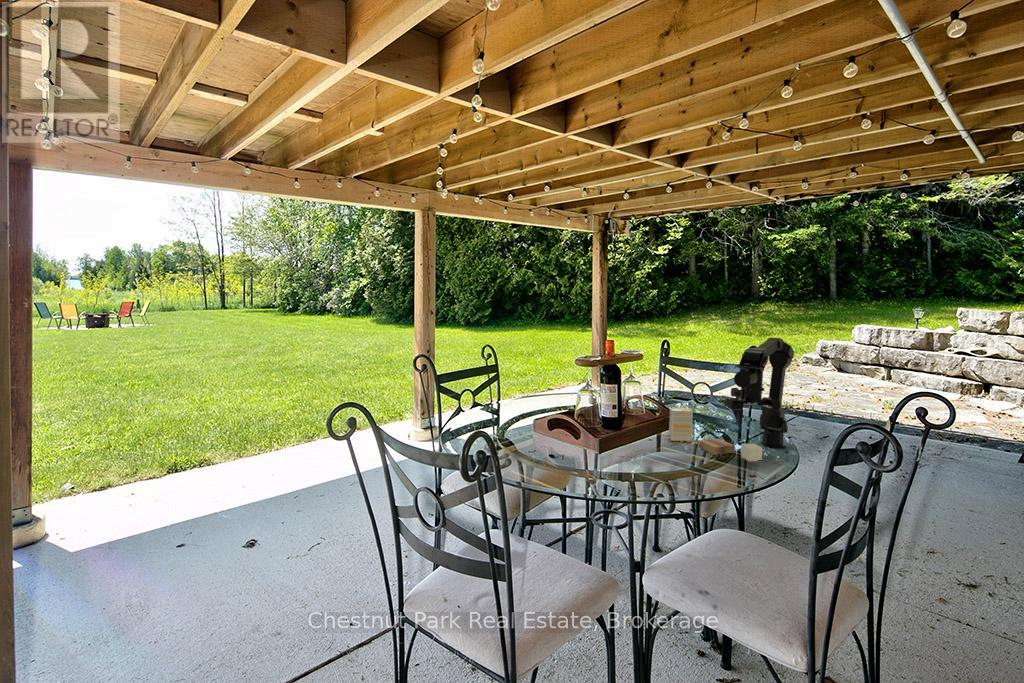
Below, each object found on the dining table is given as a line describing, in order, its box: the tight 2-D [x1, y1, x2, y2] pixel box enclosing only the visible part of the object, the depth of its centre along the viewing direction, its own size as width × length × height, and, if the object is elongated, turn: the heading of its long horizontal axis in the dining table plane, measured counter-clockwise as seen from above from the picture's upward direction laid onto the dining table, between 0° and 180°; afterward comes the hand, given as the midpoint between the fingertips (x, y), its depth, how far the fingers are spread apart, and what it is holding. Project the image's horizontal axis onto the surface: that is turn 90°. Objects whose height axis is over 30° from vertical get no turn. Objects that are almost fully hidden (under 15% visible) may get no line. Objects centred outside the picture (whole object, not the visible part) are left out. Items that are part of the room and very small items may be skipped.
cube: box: [740, 443, 763, 462], centre depth 186 cm, size 5×5×5 cm
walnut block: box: [698, 438, 736, 456], centre depth 195 cm, size 9×9×4 cm
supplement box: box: [668, 407, 694, 443], centre depth 207 cm, size 8×5×13 cm, turn 84°
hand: (751, 426), depth 185 cm, fingers open, 9 cm apart
